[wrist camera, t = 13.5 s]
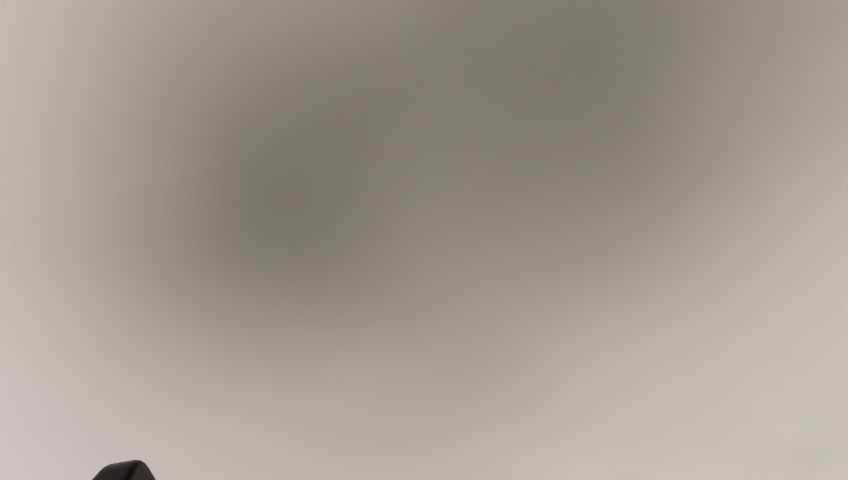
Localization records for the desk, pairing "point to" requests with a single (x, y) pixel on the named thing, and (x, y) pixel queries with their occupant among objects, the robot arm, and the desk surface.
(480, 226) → the desk surface
